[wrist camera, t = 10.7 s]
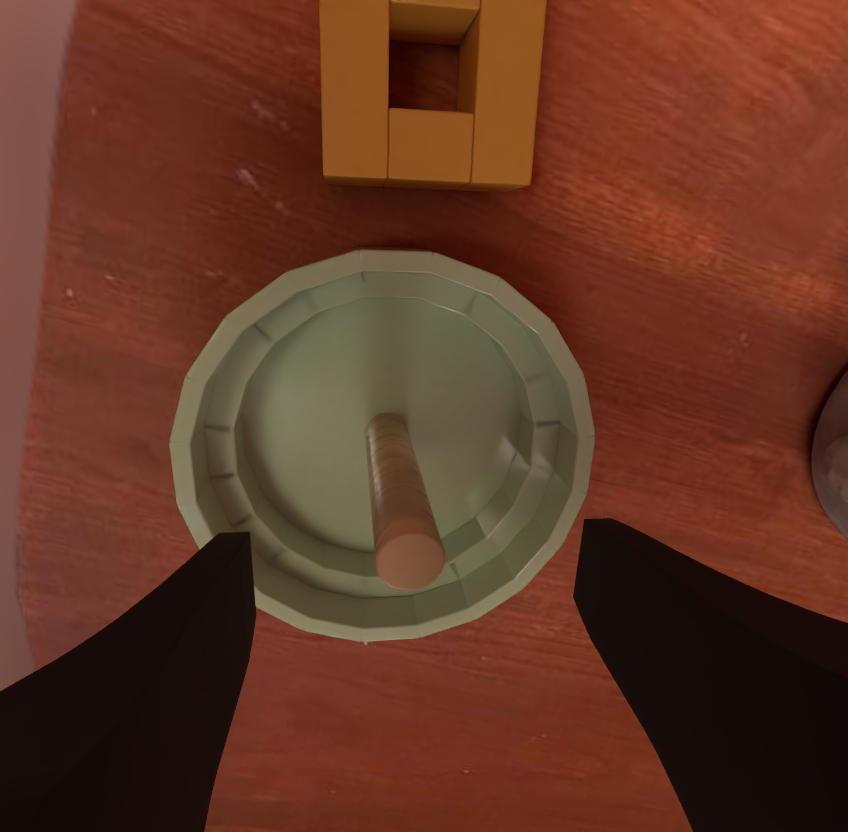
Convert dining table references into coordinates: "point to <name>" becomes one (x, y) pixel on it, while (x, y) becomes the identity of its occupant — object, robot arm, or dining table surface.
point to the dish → (833, 457)
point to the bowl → (346, 447)
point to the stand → (428, 129)
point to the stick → (400, 508)
